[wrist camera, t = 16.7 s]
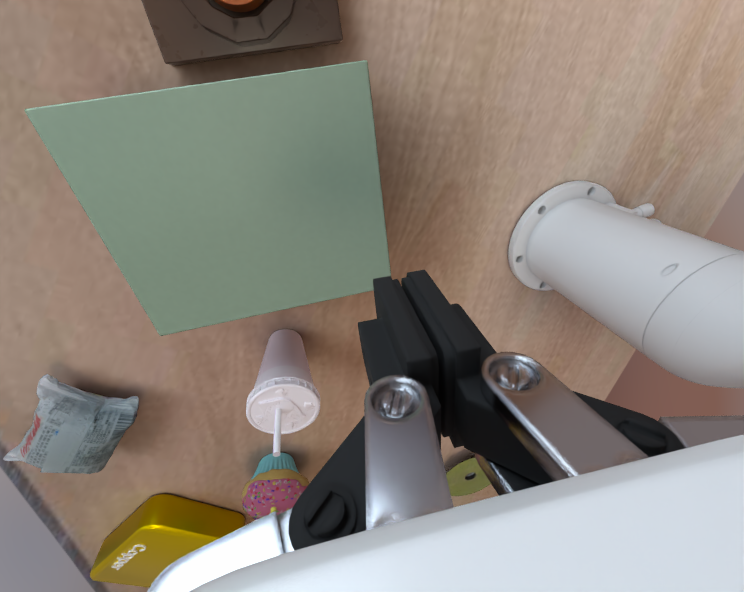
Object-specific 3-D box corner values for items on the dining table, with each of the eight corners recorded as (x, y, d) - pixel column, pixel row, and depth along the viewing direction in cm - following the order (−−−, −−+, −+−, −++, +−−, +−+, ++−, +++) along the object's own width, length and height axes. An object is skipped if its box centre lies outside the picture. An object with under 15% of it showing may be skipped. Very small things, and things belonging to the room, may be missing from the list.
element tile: (157, 489, 45) (144, 527, 41) (251, 514, 52) (247, 549, 48) (97, 544, 48) (80, 585, 44) (194, 561, 56) (186, 597, 52)
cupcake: (237, 453, 45) (221, 557, 35) (299, 436, 46) (302, 532, 35) (256, 486, 49) (248, 587, 39) (313, 471, 50) (319, 565, 40)
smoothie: (274, 309, 35) (266, 417, 23) (325, 333, 38) (341, 441, 26) (244, 351, 37) (222, 471, 25) (295, 371, 40) (297, 487, 28)
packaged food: (21, 435, 36) (-13, 479, 32) (55, 360, 33) (22, 399, 28) (112, 452, 40) (92, 493, 36) (151, 387, 37) (134, 425, 33)
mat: (474, 438, 55) (479, 448, 53) (507, 458, 60) (513, 468, 58) (423, 475, 57) (427, 486, 56) (460, 492, 63) (464, 502, 61)
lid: (364, 61, 18) (367, 59, 17) (389, 281, 25) (392, 286, 25) (34, 108, 16) (22, 109, 16) (163, 329, 24) (159, 336, 23)
